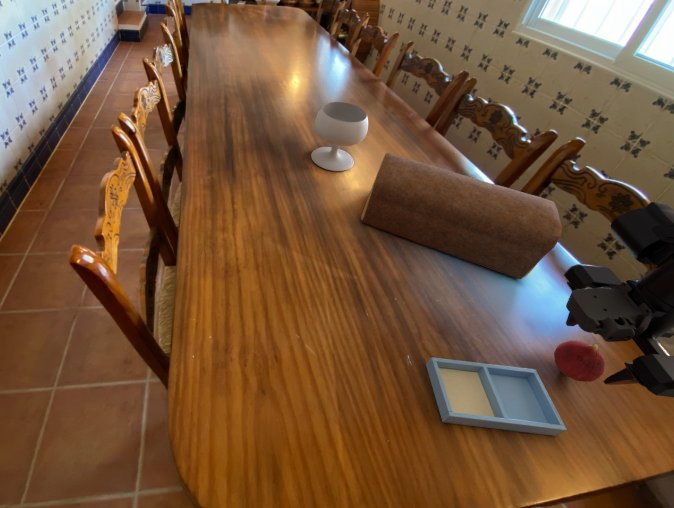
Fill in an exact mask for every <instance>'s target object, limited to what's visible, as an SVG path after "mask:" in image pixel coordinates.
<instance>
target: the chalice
mask: <svg viewBox="0 0 674 508" xmlns="http://www.w3.org/2000/svg"><path fill="white" fill-rule="evenodd" d="M313 125H314V132H315V133H316V134H317V136H318V137H319V138H320V139H321V140H322V141H324V142H326V143H327V144H330V146H322V147H318V148H315V149H314V150H313V151H312V152H311V155H310V158H311V160H312V162H314V164H315V165H317V166H318V167H320V168H322V169H325V170H328V171H332V172H344V171H348V170H350V169H351V168H353V166H354V163H355V161H354V158H353V156H352V155H350V154H349V153H348V152H347V151H345V150H343V149H340V148H342V147H352V146H355V145H358V144H359V143H361V142H362V141H364V139H365V138H366V137H367V134H368V130H369V118H368V114H367V112H366V110H364V108H361V107H360V106H358V105H355V104H352V103H350V102H349V103H348V102H344V101H333V102H328V103H326V104H324V105H323V106H322V107H321V108H320V109H319V110H318V113H317V115H316V117H315V120H314V124H313Z"/></svg>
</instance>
